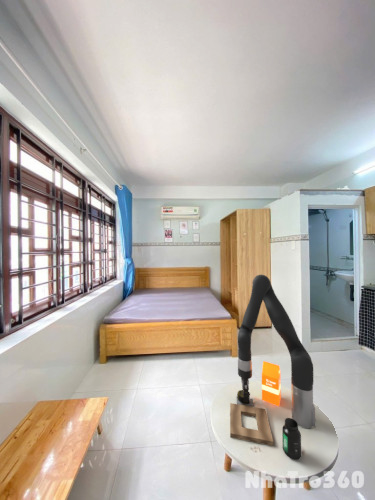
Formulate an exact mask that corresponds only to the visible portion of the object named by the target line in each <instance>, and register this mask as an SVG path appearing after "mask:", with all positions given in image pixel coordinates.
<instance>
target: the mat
mask: <svg viewBox="0 0 375 500" xmlns="http://www.w3.org/2000/svg"><path fill="white" fill-rule="evenodd" d="M235 398H236V404H239V405H245V406H251V407H255V404H254V399H253V398H249V399H250V403H249V404H245V403H241V402H240V401H239V400H238V398H237V395H236V397H235Z"/></svg>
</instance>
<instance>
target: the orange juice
mask: <svg viewBox="0 0 375 500" xmlns="http://www.w3.org/2000/svg"><path fill="white" fill-rule="evenodd" d="M281 378H282V377H281V367H280V365H279V364H276V363H275V364H274V363H271V362H268V361H266V360H265V361H264V360H263V362H262V371H261V400H262V401H264V402H266V403H269V404H271V405H274V406H277V407H280V403H281V398H282V394H281V393H282V390H281V389H282V388H281V387H282V385H281V384H282V382H281Z"/></svg>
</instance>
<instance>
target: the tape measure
mask: <svg viewBox="0 0 375 500" xmlns="http://www.w3.org/2000/svg"><path fill="white" fill-rule="evenodd" d="M236 393H237V394H236V396H237V397H236V399H237V398H238V400H239V401H240V402H241V403H245V402H244V396H243V389H239V390H238V391H237V392H236ZM245 393H246V392H245ZM248 395H249V396H248V403H245V404H249V403H250V399H249V398H250V396H251V392H249V391H248Z"/></svg>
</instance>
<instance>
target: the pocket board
mask: <svg viewBox="0 0 375 500" xmlns="http://www.w3.org/2000/svg"><path fill="white" fill-rule="evenodd" d="M229 404H230V405H229V407H230V408H229V409H230V410H229V411H230V412H229V413H230V415H229V417H230V418H229V421H230V422H229V430H230V431H229V434H230V435H229V438H233V439H236V440H242V441H248V442H251V443H256V444H262V445H267V446H271V447H274V439H273V435H272V431H271V427H270V423H269V417H268V413H267V409H266V408H261V407H256V406H254V407H251V406H245V405H239V404H237V403H231V402H230V403H229ZM242 416H247V417H252V418H255V420H256V425H257V429H253V428H249V427H248V428H247V427H243V426H242V424H243V423H242Z"/></svg>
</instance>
